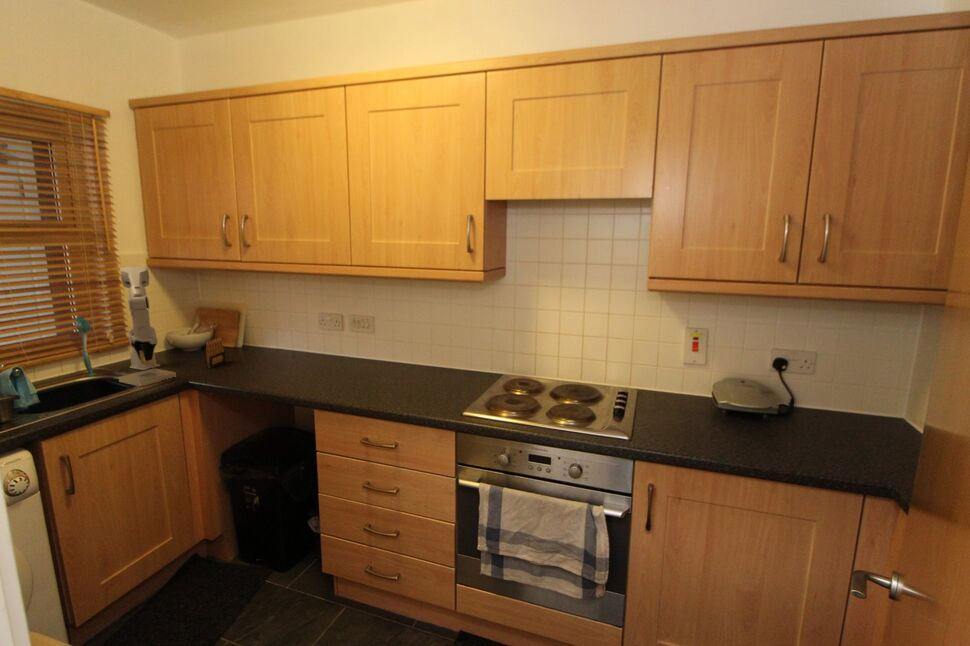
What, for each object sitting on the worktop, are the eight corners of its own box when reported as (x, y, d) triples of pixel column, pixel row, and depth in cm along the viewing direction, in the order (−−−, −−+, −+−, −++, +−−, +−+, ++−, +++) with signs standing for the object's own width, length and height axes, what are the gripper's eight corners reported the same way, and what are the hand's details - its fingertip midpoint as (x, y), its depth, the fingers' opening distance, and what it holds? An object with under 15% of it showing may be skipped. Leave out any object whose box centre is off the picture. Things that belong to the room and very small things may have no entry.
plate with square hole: (119, 381, 199) (118, 377, 199) (154, 372, 212) (154, 368, 211) (141, 386, 193) (140, 381, 193) (176, 377, 206) (175, 372, 205)
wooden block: (141, 363, 201) (139, 350, 200) (149, 362, 204) (147, 348, 203) (146, 364, 200) (144, 351, 199) (154, 362, 202) (152, 349, 201)
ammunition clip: (222, 361, 230) (219, 336, 228) (226, 362, 230) (223, 336, 227) (206, 368, 219) (203, 341, 217) (210, 368, 219) (207, 341, 217)
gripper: (119, 326, 198) (124, 359, 200) (142, 329, 192) (147, 364, 194) (138, 323, 204) (142, 356, 207) (161, 326, 198) (164, 359, 201)
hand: (145, 359), depth 201 cm, fingers closed on wooden block, 3 cm apart
